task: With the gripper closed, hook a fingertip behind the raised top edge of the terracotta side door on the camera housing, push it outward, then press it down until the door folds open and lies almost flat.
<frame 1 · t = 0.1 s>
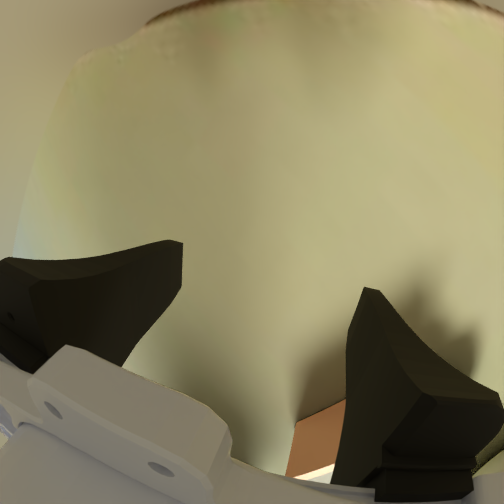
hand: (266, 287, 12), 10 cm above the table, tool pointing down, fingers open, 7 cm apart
side door: (356, 425, 20), point 4 cm above the table, hinge at 0.0°
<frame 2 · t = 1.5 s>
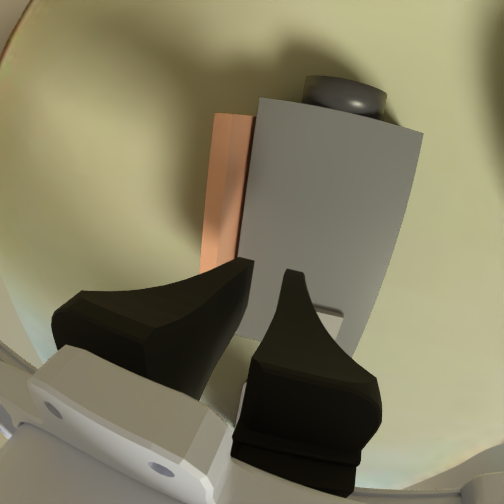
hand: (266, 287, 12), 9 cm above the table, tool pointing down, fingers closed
camera housing: (320, 222, 20), on the table
side door: (233, 223, 17), point 4 cm above the table, hinge at 0.0°
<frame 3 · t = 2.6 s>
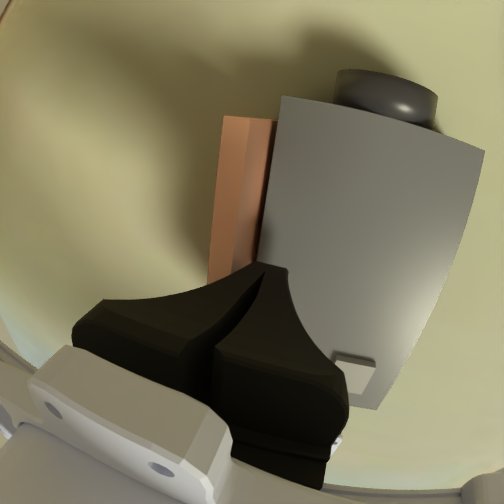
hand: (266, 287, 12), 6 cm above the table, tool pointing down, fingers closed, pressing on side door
camera housing: (347, 249, 16), on the table
side door: (244, 256, 14), point 4 cm above the table, hinge at 0.0°, touching gripper
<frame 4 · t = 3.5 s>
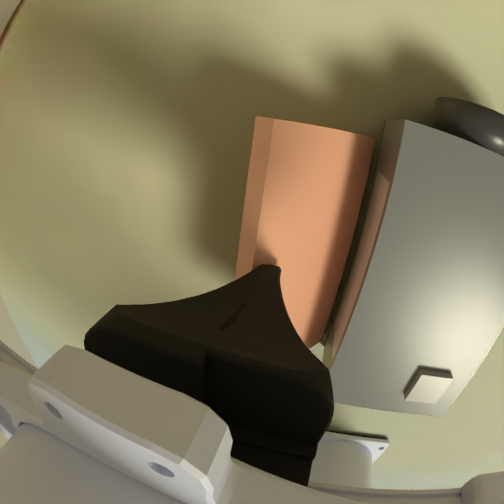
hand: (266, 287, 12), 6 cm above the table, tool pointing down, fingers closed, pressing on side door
camera housing: (421, 266, 15), on the table
side door: (301, 265, 14), point 3 cm above the table, hinge at 32.9°, touching gripper
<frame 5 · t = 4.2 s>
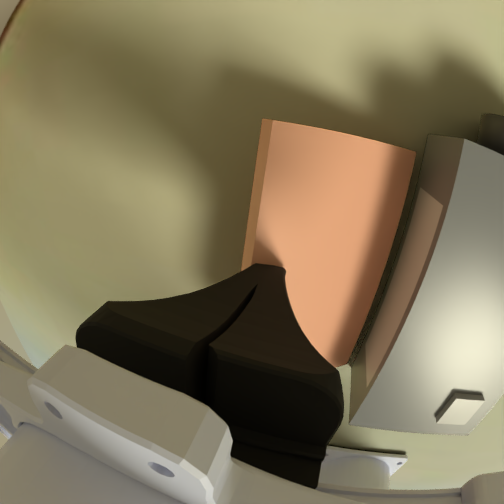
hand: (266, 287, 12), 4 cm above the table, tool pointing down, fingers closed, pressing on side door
camera housing: (455, 285, 14), on the table
side door: (320, 277, 13), point 3 cm above the table, hinge at 53.2°, touching gripper
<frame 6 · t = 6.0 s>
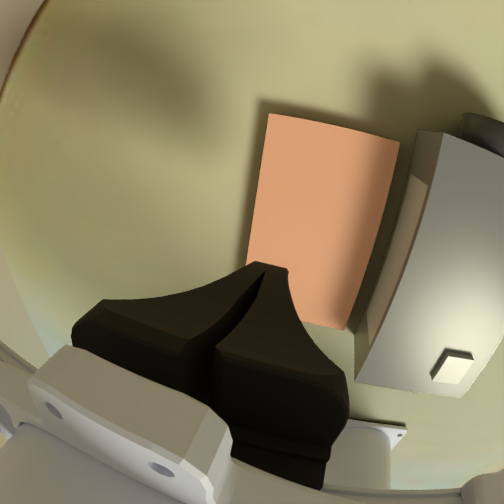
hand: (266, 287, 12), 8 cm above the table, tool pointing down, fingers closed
camera housing: (444, 260, 17), on the table
side door: (314, 230, 18), point 1 cm above the table, hinge at 88.5°
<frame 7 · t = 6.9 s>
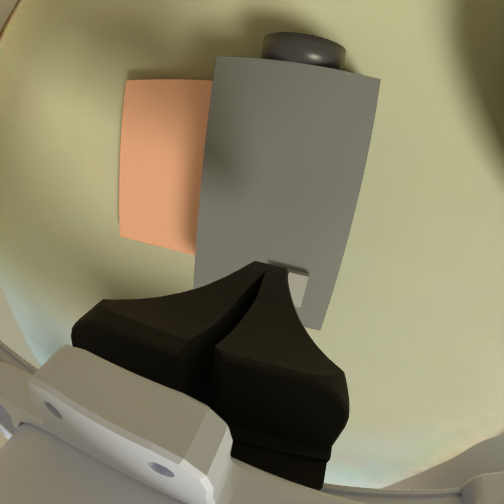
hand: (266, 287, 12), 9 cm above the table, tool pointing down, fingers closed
camera housing: (287, 184, 19), on the table
side door: (163, 164, 20), point 1 cm above the table, hinge at 88.7°
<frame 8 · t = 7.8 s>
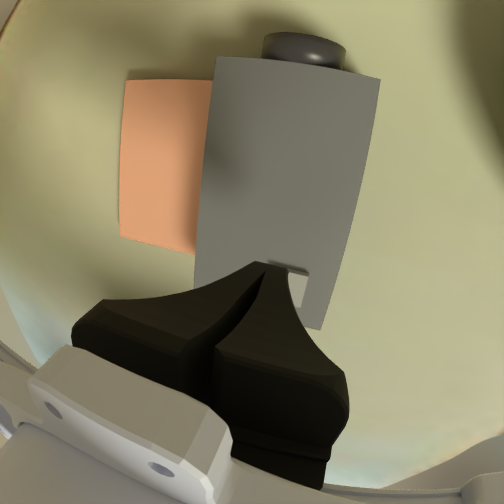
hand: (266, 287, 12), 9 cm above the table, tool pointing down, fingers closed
camera housing: (287, 184, 19), on the table
side door: (163, 164, 20), point 1 cm above the table, hinge at 88.7°
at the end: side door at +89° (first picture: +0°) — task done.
